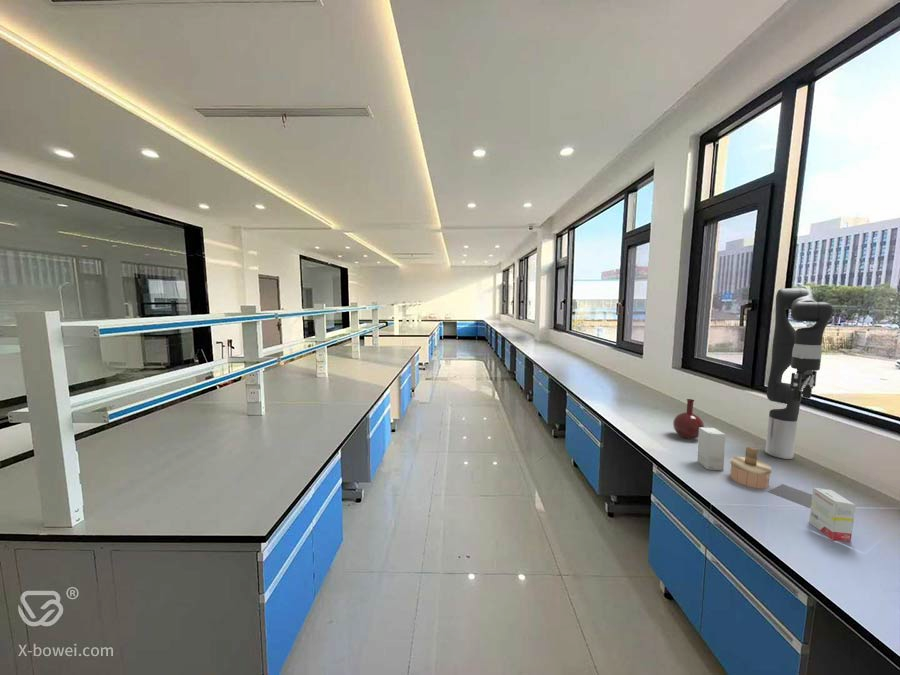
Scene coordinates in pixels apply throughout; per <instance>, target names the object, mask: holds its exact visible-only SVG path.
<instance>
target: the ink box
mask: <svg viewBox="0 0 900 675" xmlns="http://www.w3.org/2000/svg"><path fill="white" fill-rule="evenodd" d="M855 513H856V504H855V503H853V502H851V501H849V500H848V499H847V498H845V497H843V495H840V494H839V493H837V492H835V491H834V490H832V489H826V488H821V487H820V488H819V487H813V488H812V502H811V508H810V512H809V521H808V522H809V523H810V524H811V525H813V526H814V527H815V529H818V530H819V531H820V532H821V533H823V534H824V535H826V536H827V538H829V539H830V540H832V541H841V542H852V533H853V526H854V521H855V520H854V519H855Z"/></svg>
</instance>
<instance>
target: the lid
mask: <svg viewBox="0 0 900 675" xmlns="http://www.w3.org/2000/svg"><path fill="white" fill-rule="evenodd" d="M758 452H759V449H758V448H756V447H752V446H746V448H745V456H733V457H730V465H731V464H732V465H733V466H735V467H737V468H739V469H741V470H744V471H747V472H751V473H756V474H770V475H771V473H772V469H773V468H772V467H771V465H769V464H768V463H766V462H763V461H760V460H758Z"/></svg>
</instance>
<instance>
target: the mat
mask: <svg viewBox="0 0 900 675" xmlns="http://www.w3.org/2000/svg"><path fill="white" fill-rule="evenodd" d="M767 493H769V494H772V495H775V496H777V497H780V498H782V499H785V500H787V501H791V502H793V503H796V504H798V505H800V506H803V507H806V508H808V509H811V502H812V495H813V493H809V492H806V491H803V490H800V489H797V488H795V487H792V486H789V485H786V484H783V483H781V484H780V485H778V486H775V487H774V488H771V489H770V490H768V491H767Z"/></svg>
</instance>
